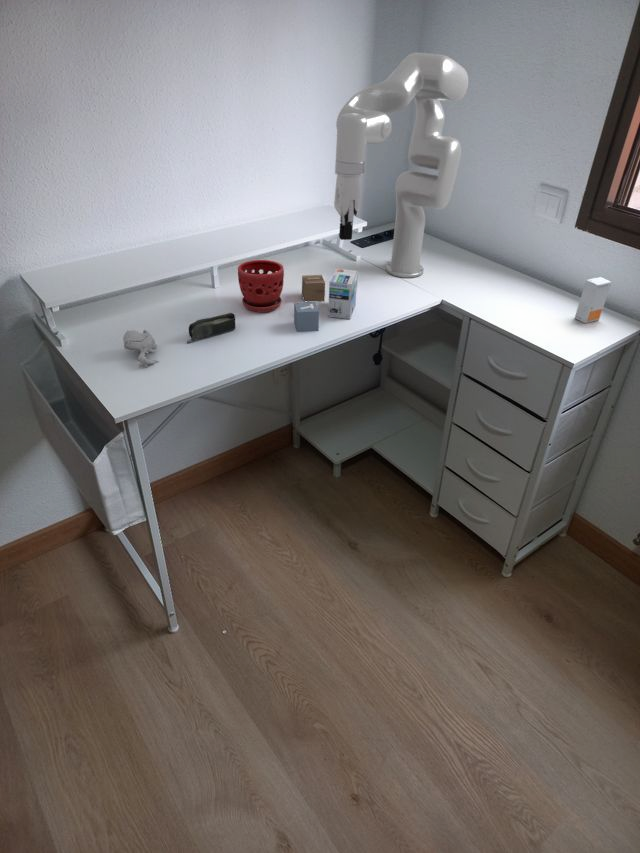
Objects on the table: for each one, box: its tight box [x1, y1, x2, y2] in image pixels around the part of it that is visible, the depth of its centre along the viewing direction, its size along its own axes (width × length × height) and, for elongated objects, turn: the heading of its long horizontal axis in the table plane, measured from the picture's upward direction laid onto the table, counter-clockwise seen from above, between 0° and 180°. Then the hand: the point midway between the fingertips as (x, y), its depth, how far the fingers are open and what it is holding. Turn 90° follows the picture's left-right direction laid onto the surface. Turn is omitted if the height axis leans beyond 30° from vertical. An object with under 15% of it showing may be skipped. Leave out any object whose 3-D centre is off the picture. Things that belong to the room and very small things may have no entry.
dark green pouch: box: [186, 312, 236, 344], centre depth 167 cm, size 5×3×15 cm
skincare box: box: [574, 276, 613, 324], centre depth 180 cm, size 6×4×12 cm
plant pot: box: [237, 259, 285, 313], centre depth 181 cm, size 13×13×12 cm
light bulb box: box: [327, 268, 359, 320], centre depth 180 cm, size 11×7×11 cm, turn 168°
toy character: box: [122, 329, 160, 368], centre depth 156 cm, size 6×9×12 cm
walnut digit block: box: [301, 274, 326, 302], centre depth 188 cm, size 6×6×6 cm
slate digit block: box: [293, 301, 320, 333], centre depth 172 cm, size 6×6×6 cm
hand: (345, 238), depth 170 cm, fingers closed
